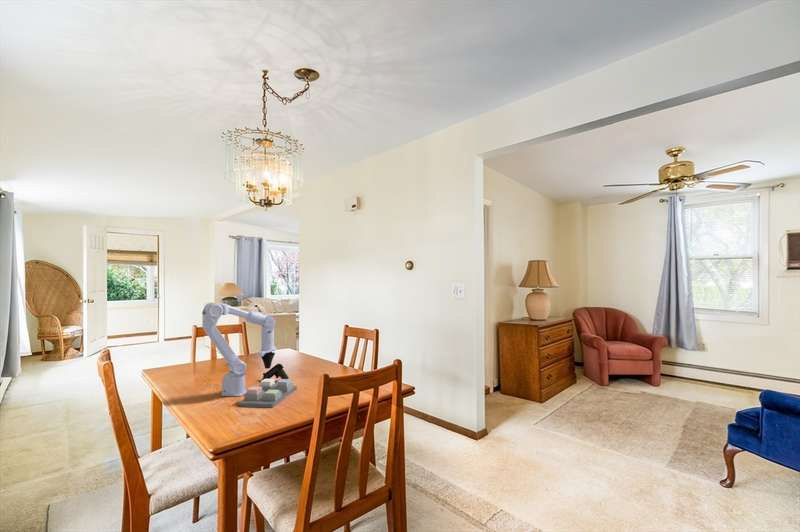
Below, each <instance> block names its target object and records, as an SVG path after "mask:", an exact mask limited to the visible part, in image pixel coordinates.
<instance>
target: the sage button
mask: <svg viewBox="0 0 800 532" xmlns="http://www.w3.org/2000/svg"><path fill="white" fill-rule="evenodd" d="M277 393H279V390H268V391H266V392H265V393H264V395H276V394H277Z"/></svg>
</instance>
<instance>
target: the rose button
mask: <svg viewBox="0 0 800 532" xmlns="http://www.w3.org/2000/svg"><path fill="white" fill-rule="evenodd" d="M258 386H259V385H258ZM258 386H249V388H247V389H246V390H247V394H254V395H257V394H259V393H260V392H262V387H258Z"/></svg>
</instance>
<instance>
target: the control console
mask: <svg viewBox="0 0 800 532" xmlns="http://www.w3.org/2000/svg"><path fill="white" fill-rule="evenodd" d="M258 387H262V392H260V393H259V394H257V395H254V394H247V393H245V394H243V395H244V396H243V399H242V400H240V401H239V402H238V407H242V408H243V407H246V408H247V407H249V408H274V407H276V406H277V405H278V404H279V403H281V402H282V401H283V400H285V399H286V398H288V396H290V395H291V394H292V393H293V392H295V391H296V390H298V385H294V382H291V384H290V385H289V386H287V387H283V386H277V382H275V383H274V384H273V385H271V386H261V384H259V385H258ZM268 390H279V393H277V394H276V395H264V393H265V392H266V391H268Z"/></svg>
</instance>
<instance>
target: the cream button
mask: <svg viewBox="0 0 800 532" xmlns="http://www.w3.org/2000/svg"><path fill="white" fill-rule="evenodd" d="M275 381H276V380H275V378H270V379H264V380H263V379H262V380H261V381H260V385H261V386H271V385H273V384H274V383H276V382H275Z"/></svg>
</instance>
